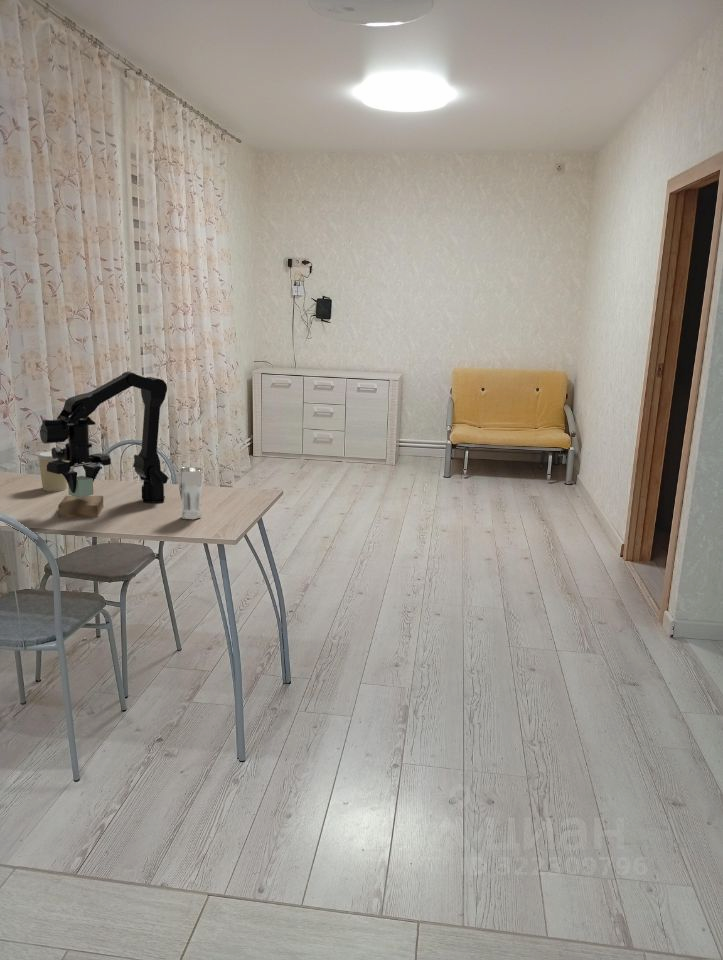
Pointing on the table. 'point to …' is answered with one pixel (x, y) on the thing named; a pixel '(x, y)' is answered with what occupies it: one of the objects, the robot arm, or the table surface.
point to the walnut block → (80, 506)
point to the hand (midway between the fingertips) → (81, 491)
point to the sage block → (82, 487)
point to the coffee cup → (51, 474)
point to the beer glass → (190, 491)
